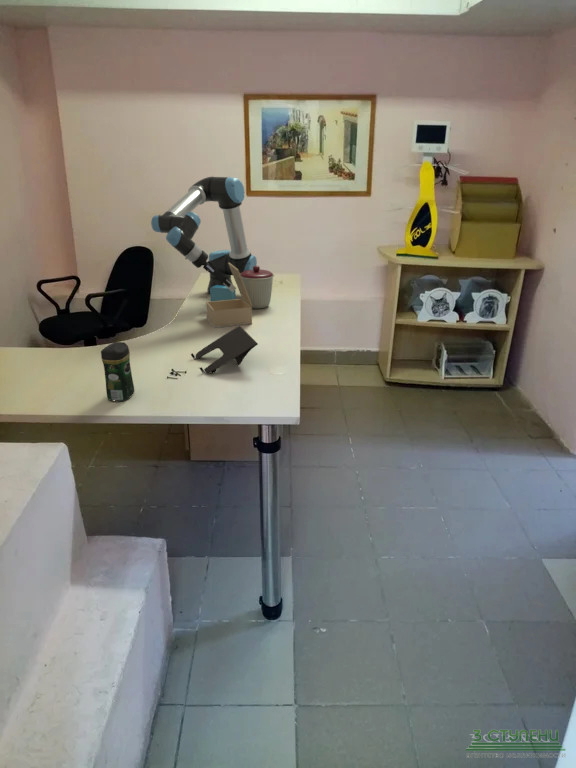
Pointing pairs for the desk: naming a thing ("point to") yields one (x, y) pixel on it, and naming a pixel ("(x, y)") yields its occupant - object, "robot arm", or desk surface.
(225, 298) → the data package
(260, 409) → the desk surface
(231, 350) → the portable electronic device stand
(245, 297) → the mailer lid
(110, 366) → the coffee jar
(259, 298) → the canister
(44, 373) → the desk surface
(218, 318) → the box
